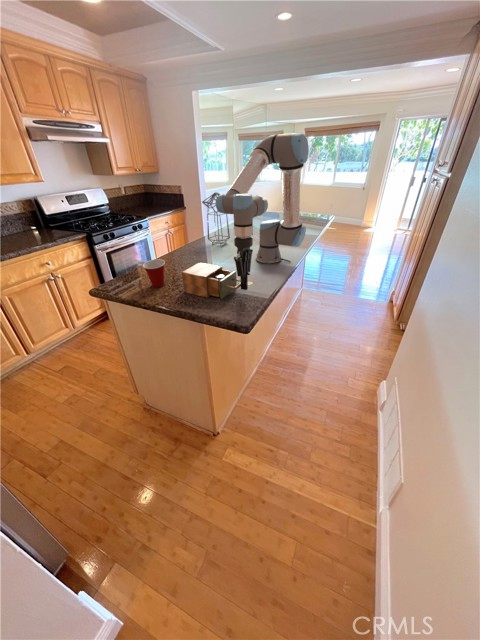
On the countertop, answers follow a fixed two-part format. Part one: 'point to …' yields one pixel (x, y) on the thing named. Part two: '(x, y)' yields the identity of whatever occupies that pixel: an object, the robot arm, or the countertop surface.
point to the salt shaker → (219, 278)
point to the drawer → (222, 283)
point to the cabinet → (198, 278)
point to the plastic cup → (155, 271)
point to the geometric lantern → (214, 219)
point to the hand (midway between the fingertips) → (244, 289)
